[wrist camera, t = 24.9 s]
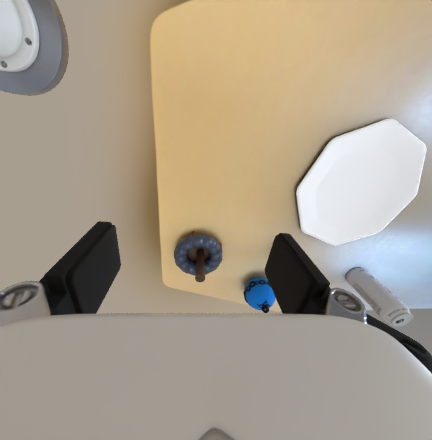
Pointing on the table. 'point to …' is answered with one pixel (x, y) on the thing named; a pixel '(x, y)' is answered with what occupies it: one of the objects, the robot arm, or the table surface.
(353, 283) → the energy drink can
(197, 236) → the ring
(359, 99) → the table surface
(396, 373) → the robot arm
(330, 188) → the plate
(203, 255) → the stand
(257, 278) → the ornament
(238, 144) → the table surface
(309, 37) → the table surface
